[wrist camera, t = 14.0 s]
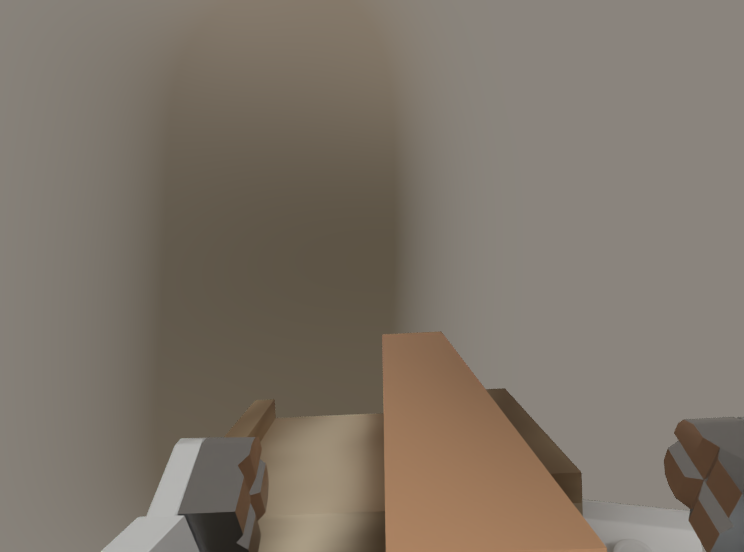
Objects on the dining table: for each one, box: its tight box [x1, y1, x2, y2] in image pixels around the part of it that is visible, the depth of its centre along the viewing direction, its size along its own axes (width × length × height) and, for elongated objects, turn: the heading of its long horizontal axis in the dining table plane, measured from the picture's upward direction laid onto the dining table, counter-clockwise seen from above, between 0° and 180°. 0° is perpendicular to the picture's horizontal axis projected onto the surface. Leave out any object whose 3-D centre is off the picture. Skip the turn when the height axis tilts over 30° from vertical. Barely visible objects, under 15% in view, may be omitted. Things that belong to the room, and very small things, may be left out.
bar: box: [382, 332, 607, 552], centre depth 19 cm, size 4×22×4 cm, turn 179°
